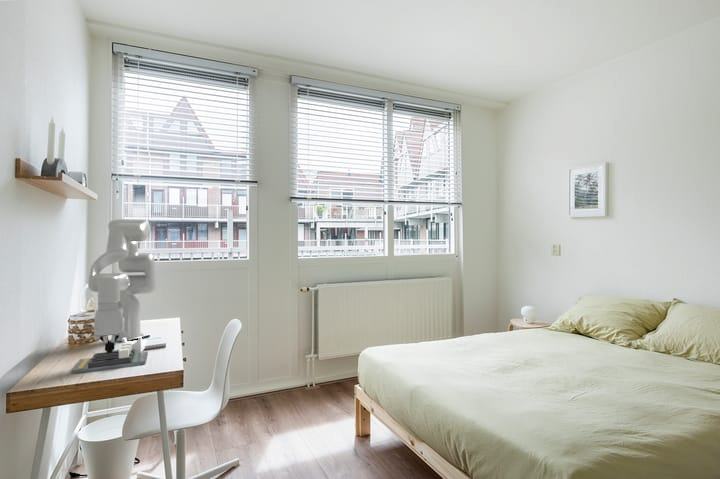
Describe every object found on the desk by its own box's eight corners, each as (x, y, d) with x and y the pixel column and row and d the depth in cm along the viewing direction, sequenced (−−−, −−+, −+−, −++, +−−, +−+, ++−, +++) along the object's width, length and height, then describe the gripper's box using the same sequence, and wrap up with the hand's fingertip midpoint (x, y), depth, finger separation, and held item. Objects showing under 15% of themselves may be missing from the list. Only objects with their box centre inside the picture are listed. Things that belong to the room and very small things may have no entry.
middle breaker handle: (121, 357, 160) (121, 346, 160) (130, 356, 161) (130, 345, 161) (120, 359, 157) (120, 347, 157) (129, 358, 159) (129, 346, 159)
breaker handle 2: (119, 361, 155) (119, 349, 155) (129, 360, 157) (128, 348, 157) (118, 363, 153) (118, 350, 153) (128, 362, 154) (128, 349, 154)
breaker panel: (80, 362, 159) (80, 354, 159) (147, 354, 169) (147, 347, 169) (71, 373, 146) (71, 365, 146) (145, 364, 156) (145, 356, 156)
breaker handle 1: (122, 354, 164) (122, 343, 164) (131, 353, 166) (131, 342, 166) (122, 356, 162) (121, 344, 162) (131, 355, 163) (130, 343, 163)
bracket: (140, 355, 169) (140, 337, 169) (122, 356, 167) (121, 339, 167) (147, 347, 181) (146, 330, 181) (129, 348, 179) (129, 332, 179)
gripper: (131, 303, 164) (132, 347, 164) (88, 306, 158) (89, 352, 158) (129, 306, 157) (130, 352, 157) (84, 309, 151) (85, 357, 151)
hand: (109, 352), depth 158 cm, fingers closed
